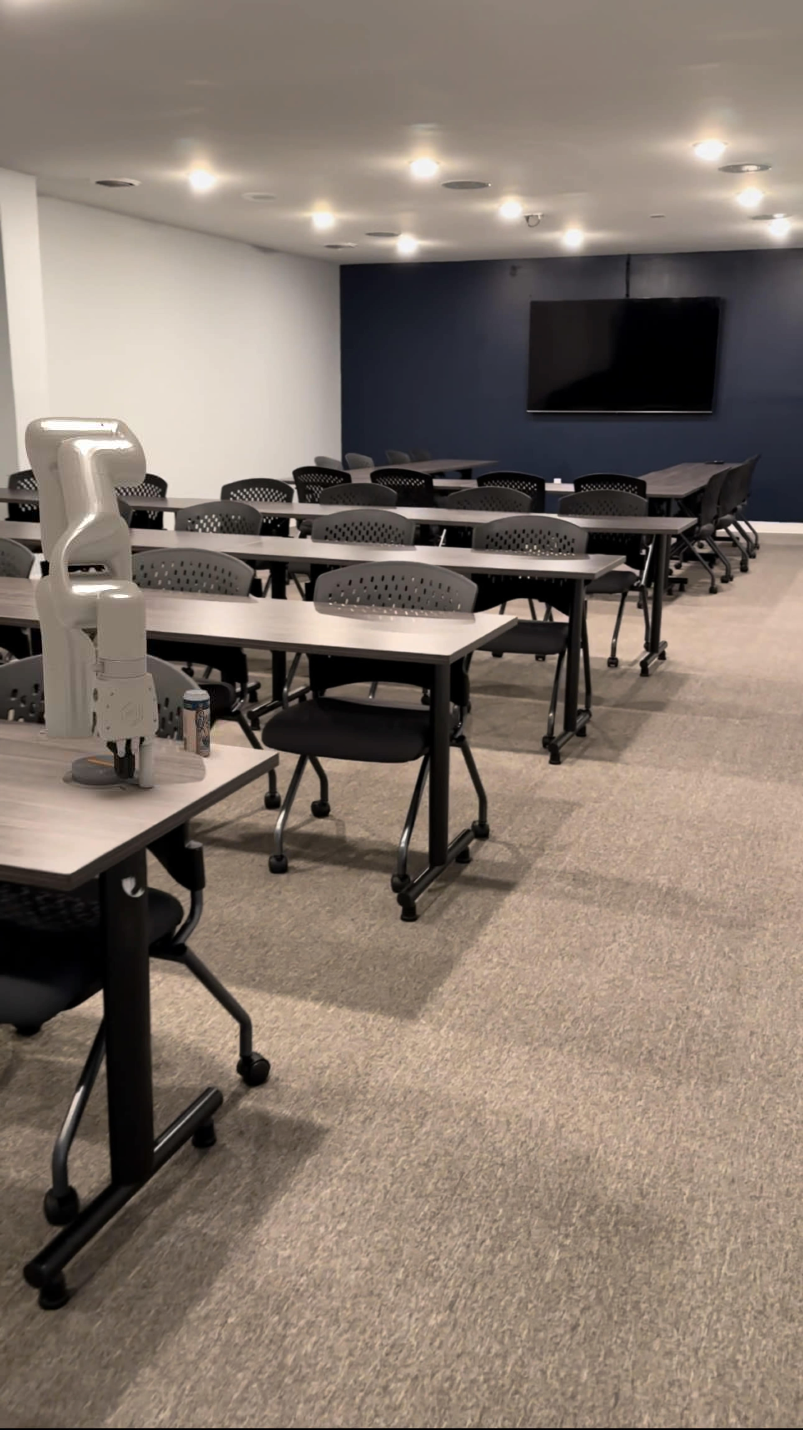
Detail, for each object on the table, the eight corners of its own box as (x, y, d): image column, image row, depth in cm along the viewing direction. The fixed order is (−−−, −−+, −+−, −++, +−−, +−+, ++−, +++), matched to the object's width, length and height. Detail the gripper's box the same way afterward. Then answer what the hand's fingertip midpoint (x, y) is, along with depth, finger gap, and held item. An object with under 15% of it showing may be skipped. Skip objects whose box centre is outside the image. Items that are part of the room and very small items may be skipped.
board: (37, 776, 209) (37, 769, 208) (127, 760, 219) (127, 753, 219) (91, 808, 194) (91, 800, 194) (185, 789, 205) (184, 781, 204)
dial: (59, 777, 203) (57, 737, 201) (99, 762, 212) (98, 724, 210) (132, 794, 196) (131, 752, 194) (171, 778, 205) (171, 738, 203)
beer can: (204, 759, 221) (204, 695, 218) (179, 757, 222) (179, 693, 219) (213, 752, 226) (213, 689, 223) (189, 750, 227) (188, 687, 224)
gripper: (90, 677, 186) (93, 791, 191) (176, 666, 195) (177, 775, 200) (67, 668, 191) (71, 779, 196) (152, 657, 201) (154, 763, 205)
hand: (124, 776), depth 198 cm, fingers closed
